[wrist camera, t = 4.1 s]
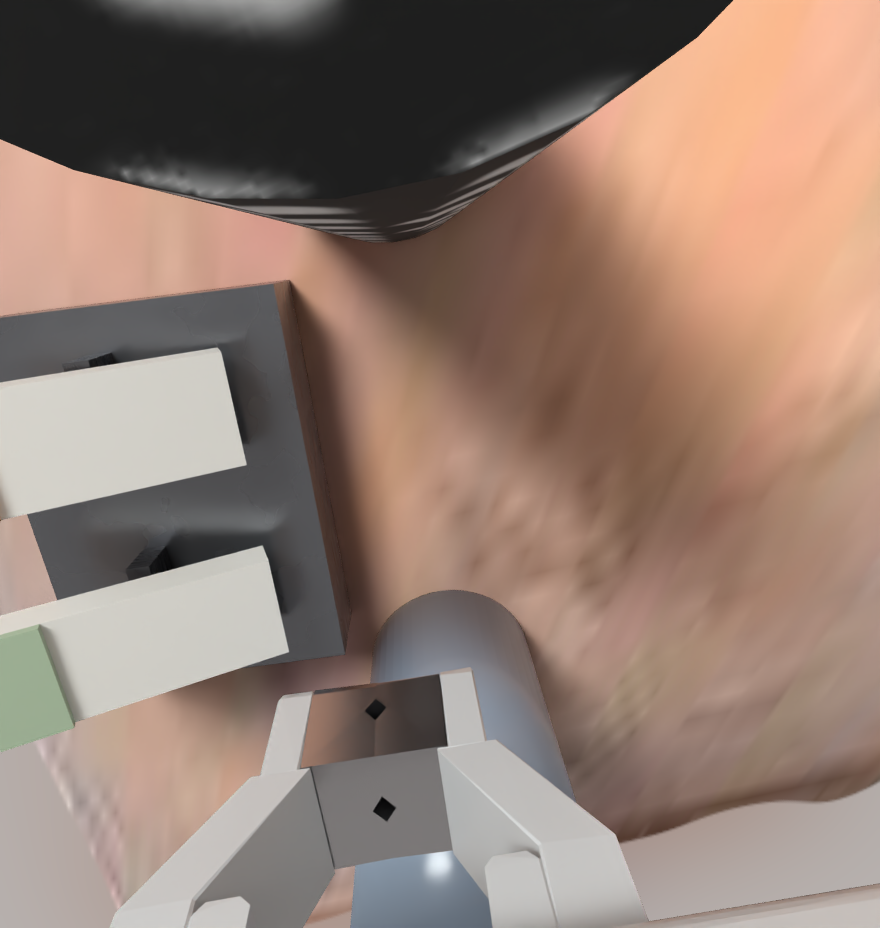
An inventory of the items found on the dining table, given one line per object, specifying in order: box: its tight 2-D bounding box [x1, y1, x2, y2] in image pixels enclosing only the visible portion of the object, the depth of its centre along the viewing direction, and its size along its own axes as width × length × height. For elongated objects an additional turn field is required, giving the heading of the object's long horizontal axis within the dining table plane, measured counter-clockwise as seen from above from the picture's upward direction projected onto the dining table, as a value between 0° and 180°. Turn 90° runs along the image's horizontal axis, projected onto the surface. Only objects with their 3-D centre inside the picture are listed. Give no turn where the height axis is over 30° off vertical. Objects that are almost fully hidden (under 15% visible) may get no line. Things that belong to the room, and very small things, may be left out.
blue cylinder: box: [350, 590, 576, 928], centre depth 22 cm, size 7×7×14 cm
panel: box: [0, 280, 351, 668], centre depth 23 cm, size 10×14×5 cm
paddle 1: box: [0, 348, 247, 521], centre depth 19 cm, size 9×4×2 cm, turn 96°
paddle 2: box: [0, 545, 289, 752], centre depth 21 cm, size 9×4×2 cm, turn 96°
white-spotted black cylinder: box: [0, 0, 733, 242], centre depth 12 cm, size 8×8×20 cm
